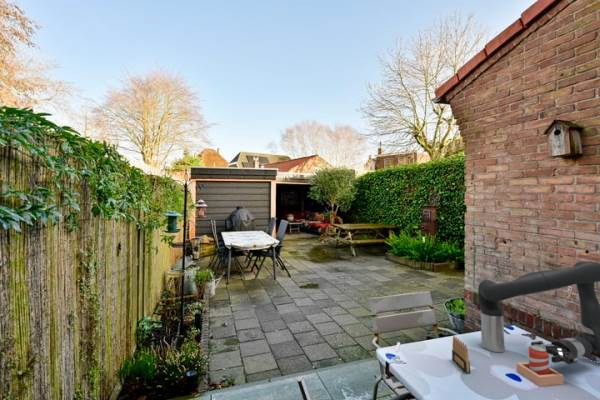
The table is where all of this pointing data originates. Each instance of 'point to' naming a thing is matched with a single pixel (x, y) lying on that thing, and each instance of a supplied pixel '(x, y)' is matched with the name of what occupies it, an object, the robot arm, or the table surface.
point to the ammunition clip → (460, 355)
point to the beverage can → (538, 360)
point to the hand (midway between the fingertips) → (540, 354)
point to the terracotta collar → (540, 380)
